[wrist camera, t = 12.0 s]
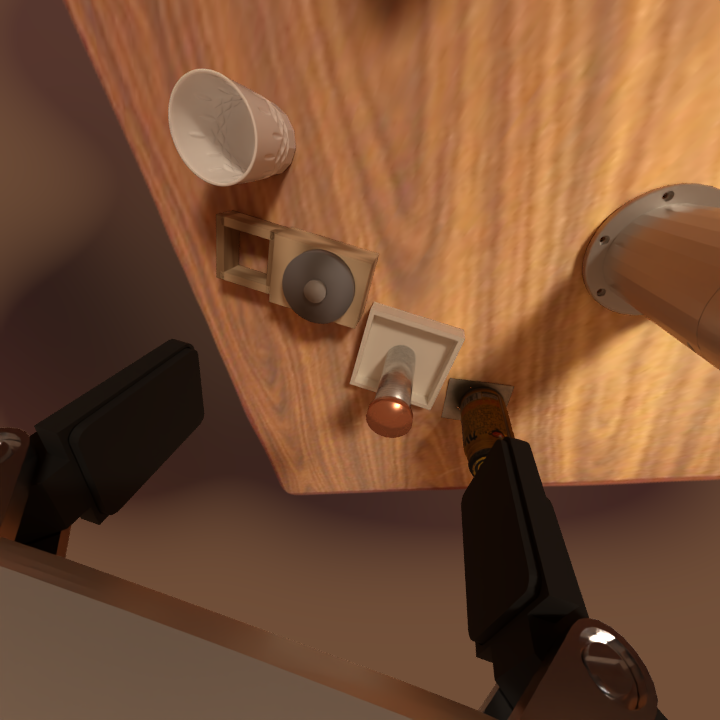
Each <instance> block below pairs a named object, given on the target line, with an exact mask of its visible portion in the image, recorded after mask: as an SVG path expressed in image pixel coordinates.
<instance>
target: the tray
mask: <svg viewBox="0 0 720 720" xmlns="http://www.w3.org/2000/svg"><path fill="white" fill-rule="evenodd" d="M464 340H465V334H464V330H463V329H460V328H456V327H453V326H450V325H447V324H444V323H440V322H437V321H434V320H431V319H428V318H425V317H421V316H418V315H415V314H412V313H409V312H405V311H402V310H399V309H396V308H393V307H390V306H386V305H383V304H380V303H377V302H374V303H373V305H372V307H371V310H370V313H369V317H368V320H367V324H366V328H365V331H364V335H363V338H362V342H361V345H360V349H359V352H358V356H357V359H356V363H355V367H354V370H353V374H352V377H351V381H350V384H352V385H355V386H358V387H361V388H364V389H367V390H370V391H373V392H376V393H377V389H378V386H379V382H380V378H381V375H382V371H383V368H384V364H385V360H386V357H387V353H388V351H389V350H390V349H391V348H392V347H394V346H397V345H404V346H407V347H409V348H411V349H412V350H413V351H414V353H415V355H416V363H415V371H414V379H413V388H412V396H411V404H413V405H416V406H419V407H422V408H425V409H428V410H431V408H432V406H433V403H434V401H435V399H436V397H437V395H438V393H439V391H440V389H441V387H442V385H443V383H444V381H445V379H446V377H447V375H448V373H449V371H450V369H451V367H452V365H453V363H454V360H455V358H456V356H457V354H458V352H459V350H460V348H461V346H462V344H463V342H464Z"/></svg>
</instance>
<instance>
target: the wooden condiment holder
mask: <svg viewBox="0 0 720 720" xmlns="http://www.w3.org/2000/svg"><path fill="white" fill-rule="evenodd" d="M240 231H243V232H246V233H249V234H252V235H256V236H259V237H262V238H265V239H269V240H270V242H269V255H268V267H267V274H266V273H262V272H259V271H256V270H253V269H250V268H247V267H243V266H240V265H239V235H240ZM378 256H379V253H375V252H372V251H369V250H365V249H362V248H359V247H356V246H352V245H349V244H346V243H343V242H339V241H336V240H333V239H330V238H326V237H323V236H320V235H316V234H313V233H310V232H307V231H303V230H300V229H297V228H294V227H292V228H288V227H285V226H281V225H278V224H275V223H272V222H268V221H265V220H262V219H259V218H255V217H252V216H249V215H246V214H242V213H239V212H236V211H228V212H223V213H219V214H216V277H217V278H220V279H223V280H226V281H229V282H232V283H235V284H239V285H242V286H245V287H248V288H251V289H254V290H257V291H261V292H264V293H267V294H270V295H269V302H272V303H275V304H278V305H281V306H284V307H288V308H291V309H293V310H294V311H295V313H297V314H298V315H299V316H301V317H302V318H304V319H306V320H308V321H310V322H314V323H321V324H324V323H330V322H335V323H338V324H341V325H344V326H347V327H350V328H353V329H355V328H356V326H357V324H358V322H359V320H360V318H361V316H362V314H363V312H364V308H365V304H366V301H367V297H368V293H369V290H370V286H371V282H372V278H373V275H374V271H375V267H376V264H377V260H378Z"/></svg>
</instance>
